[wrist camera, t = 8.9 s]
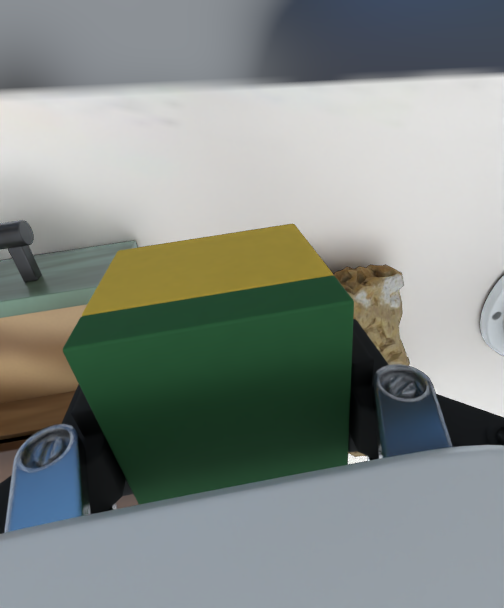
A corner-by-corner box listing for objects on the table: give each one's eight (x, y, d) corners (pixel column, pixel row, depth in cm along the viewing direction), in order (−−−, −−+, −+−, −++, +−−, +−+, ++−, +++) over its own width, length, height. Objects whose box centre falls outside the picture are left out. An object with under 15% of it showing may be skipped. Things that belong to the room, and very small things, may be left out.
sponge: (260, 264, 29) (272, 456, 35) (300, 286, 22) (306, 522, 28) (393, 247, 33) (382, 425, 39) (464, 260, 26) (437, 476, 32)
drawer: (-139, 227, 23) (-267, 273, 16) (120, 191, 24) (92, 222, 17) (-18, 400, 31) (-73, 475, 24) (173, 368, 31) (166, 432, 25)
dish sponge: (294, 223, 11) (355, 300, 7) (303, 387, 14) (346, 507, 10) (117, 250, 11) (59, 350, 6) (170, 410, 14) (157, 545, 10)
